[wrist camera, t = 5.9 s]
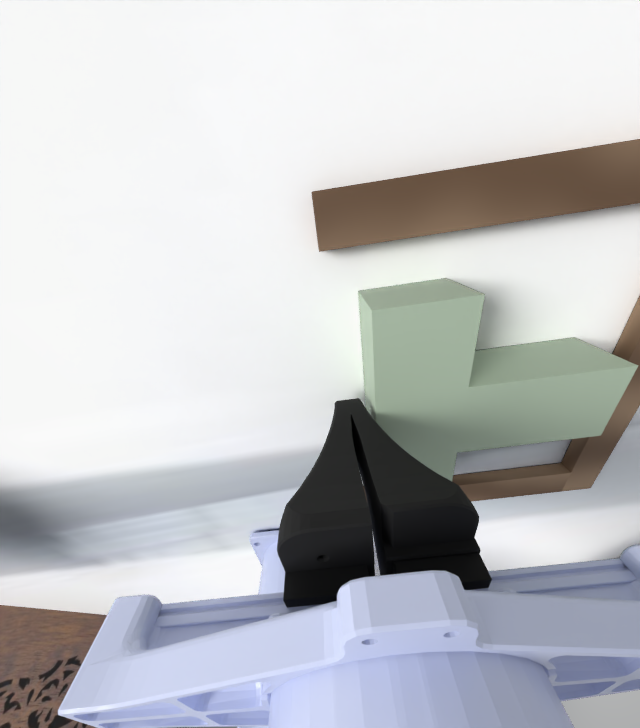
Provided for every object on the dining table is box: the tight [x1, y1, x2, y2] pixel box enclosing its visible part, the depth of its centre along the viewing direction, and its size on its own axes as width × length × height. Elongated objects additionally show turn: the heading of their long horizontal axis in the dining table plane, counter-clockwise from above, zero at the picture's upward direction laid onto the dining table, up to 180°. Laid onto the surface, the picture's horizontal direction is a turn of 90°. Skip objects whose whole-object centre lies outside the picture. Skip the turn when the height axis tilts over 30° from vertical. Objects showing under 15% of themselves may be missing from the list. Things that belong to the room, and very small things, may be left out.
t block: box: [358, 278, 638, 481], centre depth 13 cm, size 12×11×3 cm
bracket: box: [312, 139, 640, 501], centre depth 14 cm, size 20×17×1 cm
